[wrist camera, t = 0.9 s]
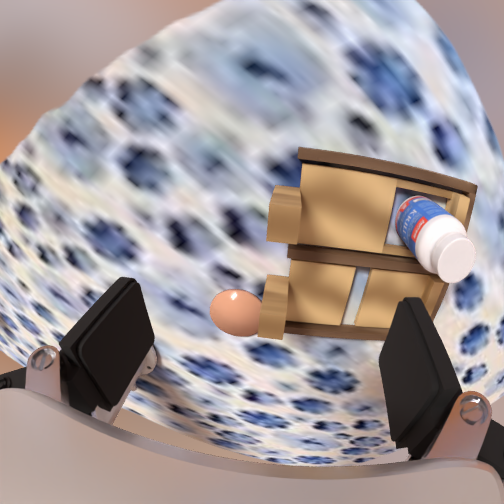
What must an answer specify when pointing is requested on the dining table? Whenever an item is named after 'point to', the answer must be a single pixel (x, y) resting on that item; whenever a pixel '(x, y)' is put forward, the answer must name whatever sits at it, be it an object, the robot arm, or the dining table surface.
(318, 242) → the slat bottle lane
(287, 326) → the lane rails
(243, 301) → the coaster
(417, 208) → the pill bottle
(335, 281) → the tan wooden block
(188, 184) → the dining table surface
